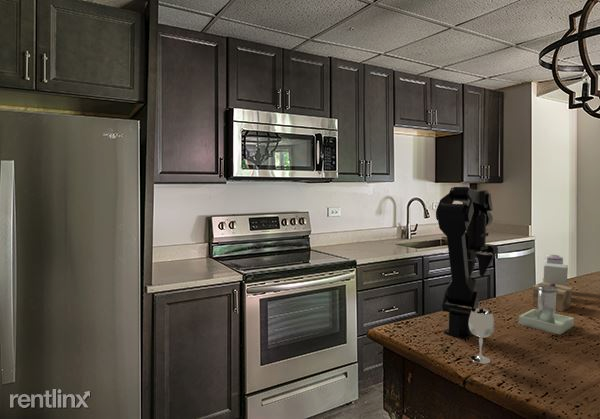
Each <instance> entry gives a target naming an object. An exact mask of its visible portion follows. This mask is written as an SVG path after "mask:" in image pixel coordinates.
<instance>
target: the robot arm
mask: <svg viewBox="0 0 600 419" xmlns="http://www.w3.org/2000/svg"><path fill="white" fill-rule="evenodd" d="M492 201H493V200H492V195H491V193H489V190H487V189H472V188H471V187H469V186H454V187H451V188H450V190H449V192H448V194H446V195H445V196H443V197H442V198H441V199H440V200H439V202H438V205H437V207H436V210H435V219H436V221H437V222H438V223H437V224H438V227H439V230H440V231H441V232H442V233H443V235H445V236H446V246H447V250H448V258H449V266H450V276H451V280H450V281H449V283H448V286H447V288H446V291H445V292H444V295H443V299H442V305H441V306H442V307H441V308H442V312H444V313H445V312H446V313H448V328H447V329H444V330H443V333H444V334H446V335H447V334H448V335H450V336H453V337H456V338H460V339H468V338H470V337H472V336H474V335H473V334H472V333H471V332H470V330H469V325H468V322H469V316H470V312H471V310H472V309H474V308H479V301H480V293H479V291H478V289H477V281H476V279H475V278H474V277H472V274H473V273H474V272H473V271H474V269H475V266H476V263H477V260H478V273H479V276H480V277H484V276H485V274H486V272H487V271H488V269H489V267H490V265H491V263H492V262H493V260H494V259H495V258H496V255H498V254H499V247H498V246H497V245H496V244H490V243H487V242H486V241H487V240H486V239H487V237H489V232H487V227H488V226H490V225H491V224H492V222H493V215H492V213H491V212H492V211H493V210H494V209H493V202H492ZM454 202H460V203H454ZM476 258H477V259H476Z"/></svg>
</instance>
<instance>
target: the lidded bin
mask: <svg viewBox="0 0 600 419" xmlns="http://www.w3.org/2000/svg"><path fill="white" fill-rule="evenodd" d="M539 285H546V286H552V287H556V288H558V291H556V311H558V312H564V311H566V310H567V309H569V308H570V307H572V293H573V292H572V291H574V287H572V286H568V285H567V286H562V285H556V284H550V283H544V282H543V281H541V282H539V283H537V284H534V285H532V286H531V289H532V290H533V291H532V306H535V307H538V289H537V286H539Z"/></svg>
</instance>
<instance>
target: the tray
mask: <svg viewBox="0 0 600 419" xmlns="http://www.w3.org/2000/svg"><path fill="white" fill-rule="evenodd" d="M537 313H538V309H536V308H533V309H530V310H529V311H526V312H523V313H522V314H520V315H518V325H520V324H521V326H525V327H529V328H532V329H537V330H540V331H543V332H548V333H551V334H556V335H559V336H561V335H562V334H564V333H565V332H567V331H568V330H570V329H572V328H573V327H574V325H575V323H574V322H575V317H572V316H568V315H562V314H558V313H555V324H552V323H548V322H544V321H540V320H537Z"/></svg>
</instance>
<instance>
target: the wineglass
mask: <svg viewBox="0 0 600 419" xmlns="http://www.w3.org/2000/svg"><path fill="white" fill-rule="evenodd" d="M471 309H472V308H471ZM468 325H469V330H470V332H471V333H472V334H473V335H472V336H476V337H477V338H478V345H479V353H478V354H476V355H472V356H470V360H471V361H472V362H475V363H478V364H482V365H483V364H484V365H485V364H489V363H491V359H490V358H489V357H486V356H483V353H482V352H483V351H482V350H483V349H482V348H483V344H484V339H485V338H489V337H491V336H492V335H493V334H494V332H495V318H494V314H493V311H492V310H490V309H486V308H480V307H478V308H474V309H472V310H471V312H470V316H469V322H468Z"/></svg>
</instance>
